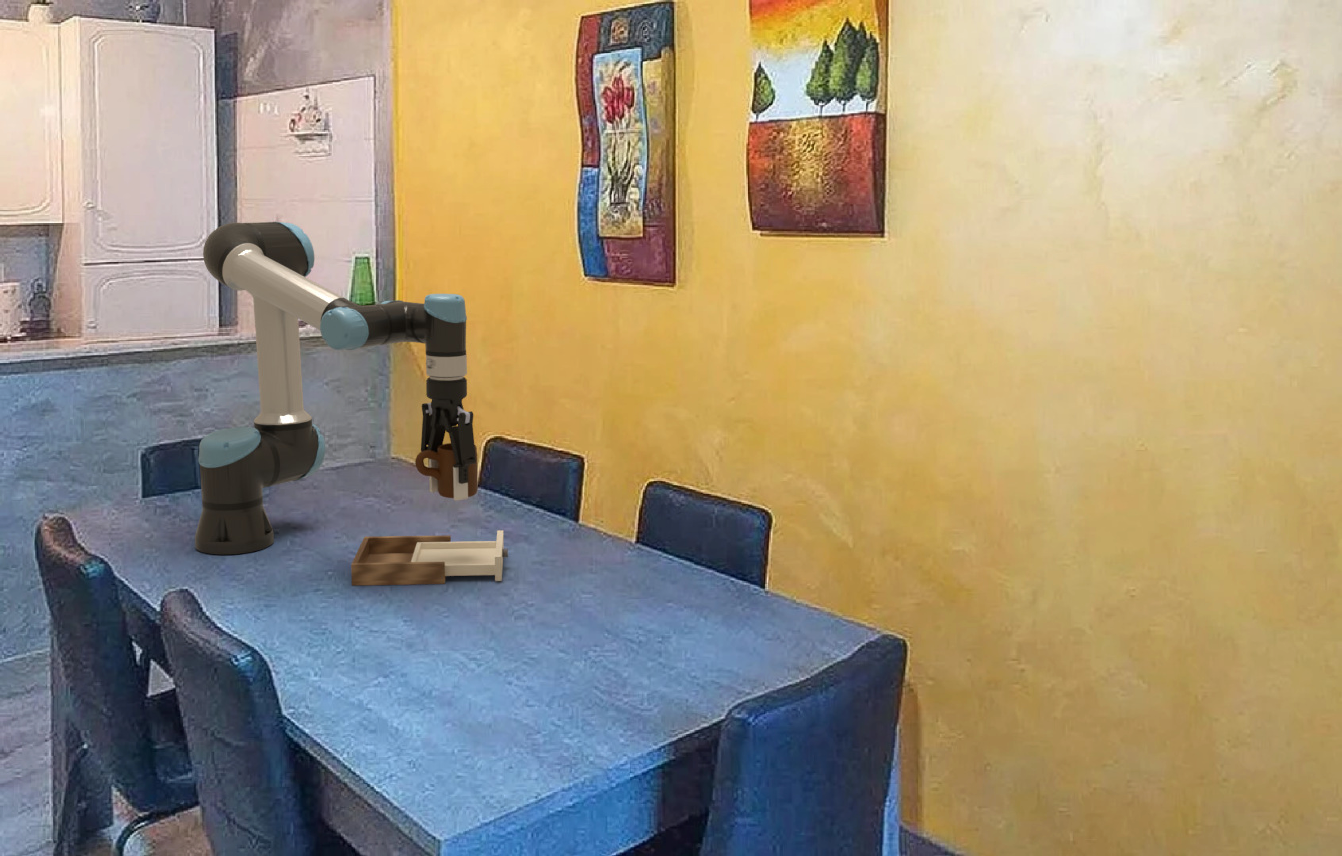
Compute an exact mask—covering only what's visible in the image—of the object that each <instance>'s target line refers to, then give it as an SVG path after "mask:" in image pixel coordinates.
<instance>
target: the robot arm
mask: <svg viewBox="0 0 1342 856" xmlns="http://www.w3.org/2000/svg"><path fill="white" fill-rule="evenodd" d="M202 252H203V253H202V257H203V262H204V265H205V268H206V270H208V272H209V274H210V275H211V276H212V277H213V278H214V279H215V280H217V281H218V282H219V283H221V284H222V285H225V286H227V287H228V288H230V289H231V290H234V291H245V292H247V293H248V294H249V295H251V297H252V298H253V313H254V328H255V329H254V331H255V342H256V357H257V371H258V388H259V402H260V403H259V404H260V412H259V413H258V415H257V416H256V418H254V420H253V426H254V427H252V426H234V427H232V428H231V427H227V428H222V429H218V430H215V431H213V432H210V433H208V434H207V435H205V436H203V437H202V439H201V441H200V443H199V447H198V448H199V449H198V450H199V452H198V458H197V459H198V463H199V472H200V490H201V506H202V507H201V509H202V510H201V513H200V517H199V520H198V524H197V528H196V531H195V535H194V545H195V546H194V547H195V549H196V551H198V552H201V553H206V554H211V555H237V554H239V555H240V554H247V553H251V552H252V553H253V552H256V551H261V550H263V549H267V548H269V547H270V546H272V545H273V544H274V541H275V537H274V536H275V535H274V529H273V527H272V523H271V522H270V519H269V517H268V515H267V514H268V513H267V511H266V509H265V506H264V498H263V495H264V493H263V488H268V487H272V486H277V485H280V484H284V483H285V484H286V483H289V482H297V481H300V480H302V479H305V478H307V477H311V476H313V475H314V474H315V473H316V472H317V471H318V470H319V469H320V468H321V466H322V465H323V462H324V460H325V457H326V440H325V437H324V434H321V433H322V431H321V430H320V428H319V427H318V426H317V425H316V424H315V423H313V420H312V419H313V417H312V416H311V415H310V413H308V412H307V411H305V409H304V408H305V407H304V395H303V394H304V393H303V392H304V391H303V379H302V378H303V377H302V362H301V361H302V360H301V359H302V358H301V345H300V344H301V343H300V342H301V341H300V329H299V328H300V327H299V324H300V323H299V320H300V321H302V322H303V323H305V324H307V325H309V326H310V327H313V328H315V329H316V330H318V331H320V335H321V337H322V340H324V341H325V343H326V345H327V346H328V347H330V348H331V349H333V350H336V351H337V350H338V351H339V350H340V351H343V350H346V351H352V350H357V349H360V348H361V349H362V348H367V347H368V348H369V347H374V346H382V345H383V346H384V345H391V344H398V343H418V344H419V343H420V344H425V345H424V346H425V369H426V370H425V375H427V376H428V377H427V378H426V380H425V383H426V384H425V386H426V387H425V388H426V391H425V393H426V395H425V396H426V397H427V398H428V399H430V400H431V402H427V403H422V404H421V412H422V424H421V425H422V426H421V427H422V428H421V441H420V442H421V443H420V452H422V451H425V450H431V451H434V452H438V446H440V445H442V444H444V440H445V434H446V433H448V435H449V437H448V438H449V441H450V443H451V445H452V449H453V453H454V458H455V462H456V464H455V465H453V482H454V498H453V501H461V500H467V499H469V497H468V480H469V479H468V467H469V465H471V464H475V463H476V455H475V445H476V444H475V437H474V425H473V423H474V422H473V421H474V413H473V411H470V410H469V411H466V410H464V405H463V399H465V398H466V397H467V396H468V383H467V382H468V380H467V378H466V377H465V376H466V375H467V374H468V363H467V362H468V359H467V320H468V317H467V313H466V301H465V299H464V297H463V296H462V295H460V294H456V293H431V294H427V295H426V296H425V297H424V303H421V302H420V303H419V302H413V301H412V302H410V301H403V300H400V299H399V300H385V301H383V302H381V303H379V304H369V305H362V304H361V305H360V304H357V303H355V302H353V301H351V300H349V299H347V298H345V297H343V296H342V295H339V294H337V293H336V292H334V291H333V290H330V289H329V288H327V287H325V286H323V285H320V284H319V283H317V282H315V281H313V280H311V279H309V278H308V275H310V273H312V269H313V268H314V265H315V251H314V247H313V244H312V242H311V240H310V238H309V236H308V235H307V233H305V232H304V231H303V229H302V228H301V227H300V226H298V225H296V224H293V223H292V222H291V223H290V222H283V221H282V222H280V221H266V222H264V221H263V222H261V221H260V222H230V223H226V224H223V225H221V226H219V227H217V228H215V230H213V231H212V232H211V233H210V234H209V235H208V236H207V238H206V240H205V242H204V245H203V249H202ZM427 459H428V461H427V462H428V468H430V467H432V468H436V469H437V461H435V460H432V459H429V458H427ZM428 479H429V480H428V481H429V493H439V492H438V480H437V479H436V478H434V477H432V476H428Z"/></svg>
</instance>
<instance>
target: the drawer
mask: <svg viewBox="0 0 1342 856" xmlns="http://www.w3.org/2000/svg"><path fill="white" fill-rule="evenodd" d="M496 533H497V534H496V540H495V541H494V540H488V541H487V540H486V541H485V540H484V541H483V540H481V541H480V540H479V541H472V540H471V541H451V542H417V544H416V547H415V551H414V554H413V557H412V560H411V562H445V576H446V577H450V576H451V577H454V576H458V577H459V576H461V577H462V576H464V577H465V576H494V580H495V582H502V579H503V578H502V577H503V568H504V567H503V566H504V558H509V552H508V551H509V549H508V548H505V547H504V545H505V544H504V530H496Z"/></svg>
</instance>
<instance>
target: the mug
mask: <svg viewBox="0 0 1342 856" xmlns="http://www.w3.org/2000/svg"><path fill="white" fill-rule="evenodd" d="M474 445H475V455H476V463H475V464H471V465H469V467H468V479H469V480H468V498H470V497H473V496H475V495H476V494H477V492H478V491H479V489H478V482H479V481H478V479H479V478H478V473H479V472H478V451H477V449H478V447H477V445H476V444H474ZM428 458H429V459H432V460H435V461H437V469H436V468H432V467H430V468H429V466H428V467H427V466H426V465H425V463H424V461H425V459H428ZM455 464H456V462H455V458H454V453H453V449H452V445H451V442H450V443H449V442H448V443H443V444H442V445H440V446H438V452H434V451H431V450H425V451H422V452H421V451H420V452H419V453H418V454H417V455H416V457H415V468H416V470H417V471H418V472H419V473H420V474H421V475H422V476H425V477H429V476H432V477H434V478H436V479H437V480H438V492H437V493H438V494H439V496H441V497H443V498H448V499H454V482H453V465H455Z"/></svg>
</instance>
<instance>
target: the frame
mask: <svg viewBox="0 0 1342 856" xmlns="http://www.w3.org/2000/svg"><path fill="white" fill-rule="evenodd" d="M417 542H452V537H451V535H450V534H449V535H448V534H447V535H393V536H392V535H387V536H384V535H383V536H381V535H380V536H378V535H377V536H374V535H371V536H364V537H363V539H362V541H361V544H360V545H359V547H358V549H357V552H356V554H355V556H354V558H353V560H352V562H351V565H350V566H351V567H350V568H351V569H350V570H351V571H350V572H351V574H350V575H351V586H391V585H392V586H394V585H395V586H397V585H398V586H399V585H405V586H406V585H443V584H444V585H446V580H447V576H445V562H411V560H412V557H413V554H414V551H415V547H416V544H417Z"/></svg>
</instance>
